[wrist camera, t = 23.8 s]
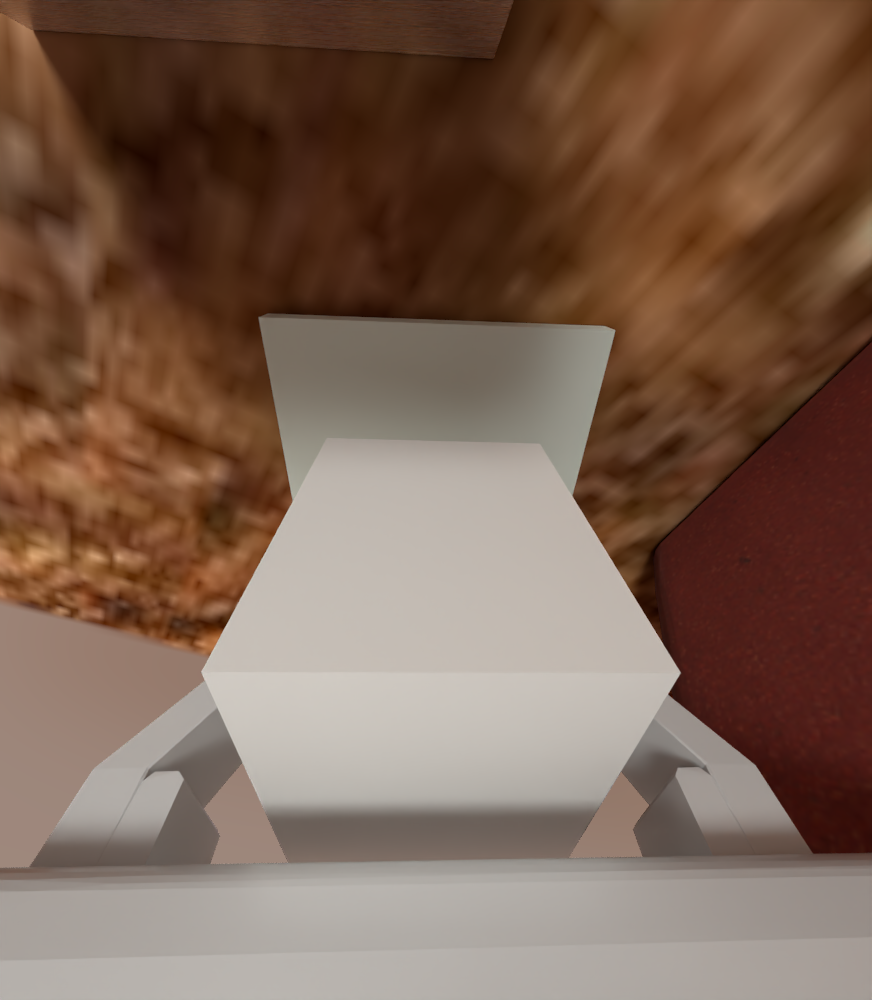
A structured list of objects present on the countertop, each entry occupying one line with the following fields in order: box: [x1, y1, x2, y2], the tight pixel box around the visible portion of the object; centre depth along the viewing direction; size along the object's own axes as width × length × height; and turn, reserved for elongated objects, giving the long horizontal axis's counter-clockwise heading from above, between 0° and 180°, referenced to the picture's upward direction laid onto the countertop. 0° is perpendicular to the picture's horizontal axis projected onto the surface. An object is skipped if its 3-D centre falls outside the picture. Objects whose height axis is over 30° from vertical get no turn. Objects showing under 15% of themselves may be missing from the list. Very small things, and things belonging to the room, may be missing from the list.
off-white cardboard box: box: [201, 438, 681, 863], centre depth 9 cm, size 5×8×6 cm, turn 178°
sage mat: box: [258, 313, 615, 500], centre depth 14 cm, size 10×12×1 cm
